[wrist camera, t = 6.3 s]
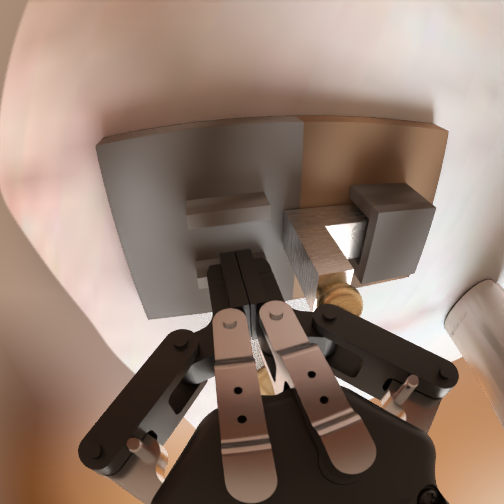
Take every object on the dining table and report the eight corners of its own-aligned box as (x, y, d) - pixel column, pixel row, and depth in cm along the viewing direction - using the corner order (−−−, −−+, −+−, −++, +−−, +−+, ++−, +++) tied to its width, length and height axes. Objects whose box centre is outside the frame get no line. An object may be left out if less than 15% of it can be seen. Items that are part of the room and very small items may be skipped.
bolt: (404, 200, 17) (476, 271, 12) (396, 231, 19) (458, 306, 13) (280, 211, 16) (330, 308, 11) (279, 247, 18) (321, 346, 12)
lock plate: (434, 124, 16) (483, 149, 12) (399, 265, 23) (428, 303, 20) (103, 137, 13) (74, 170, 10) (149, 303, 21) (146, 357, 17)
